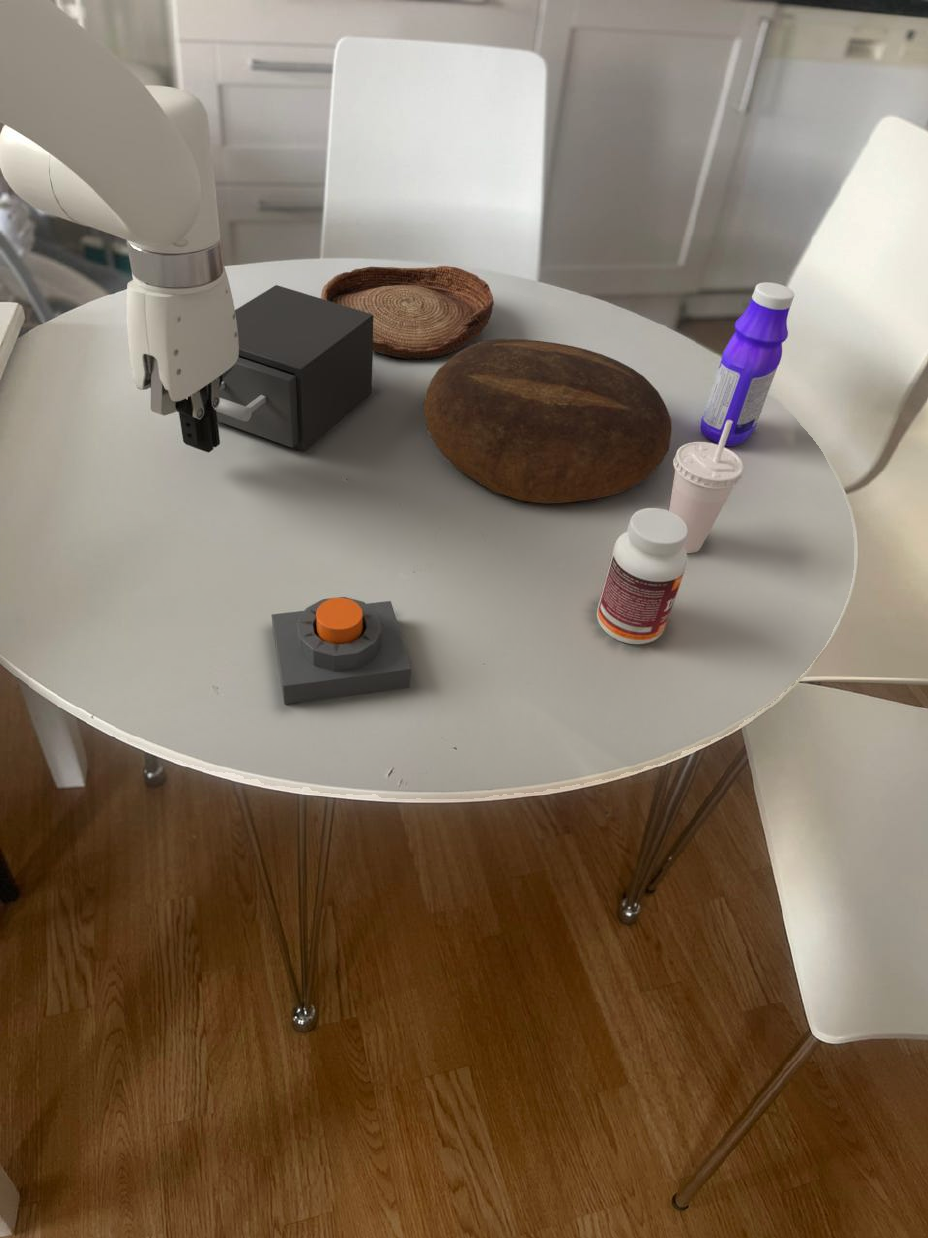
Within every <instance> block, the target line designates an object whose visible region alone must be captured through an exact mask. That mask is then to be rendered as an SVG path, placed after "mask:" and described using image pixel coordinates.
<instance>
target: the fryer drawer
mask: <svg viewBox="0 0 928 1238" xmlns="http://www.w3.org/2000/svg"><path fill="white" fill-rule="evenodd" d="M214 410H216V413H217V421H218V423H221V424H225V425H228V426H230V427H233V428H236V429H239V430H242V431H244V432H247V433H250V434H253V435H256V436H258V437H262V438H263V439H267V440H269V441H273V442H275V443H278V444H281V445H283V446H287V447H289V448H292V449H294V448H293V447H294V446H296V445H297V444H298V443H299V435H298V413H297V391H296V376H295V374H293V373H290V372H287V371H284V370H281V369H278V368H275V367H272V366H269V365H266V364H263V363H260V362H257V361H254V360H251V359H248V358H245V357H242V356H238V360H237V362H236V363H235V364H234V365H233V368H232V370H231V371H230V372H229V373H228V374H227V375H226V376H225V378H224V379H223V381H222V384H221V386H220V403H219V405H218V407H217V408H214Z"/></svg>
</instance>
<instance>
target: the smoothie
mask: <svg viewBox="0 0 928 1238" xmlns="http://www.w3.org/2000/svg"><path fill="white" fill-rule="evenodd" d="M732 423H733V422H732V421H731V420H727V421H726V424H725V427H724V430H723V433H722V436H721V439H720V442H719V444H718V443H714V442H707V441H693V442H688V443H685V444H683V445H681V446H680V447H679V448H678V449H677V450H676V453H675V456H674V457H673V461H672V465H673V467H674V475H673V482H672V488H671V496H670V501H669V508H668V511H670V512H672V513H674V514H676V515H677V516H679V517H680V518H681V519H682V520H683V521H684V522H685V524H686V525H687V528H688V533H687V537H686V541H685V545H684V546H683V547H684V548H685V550H686V553H687V554H695V553H697V552H698V551H700V550H701V548H702V547H703V544H704V543H705V540H706V539H707V538H708V535H709V533H710V531H711V529H712V527H713V525H714V524H715V522H716V520H717V518H718V517H719V514H720V513H721V511H722V510H723V507H724V505H725V503H726V502H727V500H728V498H729V496H730V494H731V492H732V490H733V488H734V487H735V486H736V485H738V484H739V483H740V481H741V480H742V478H743V473H744V470H745V466H744V461H742V459H741V458H740V456H738V455H737V453H735V452H734V451H732V450H731V449H729V448H727V447H726V446H725V443H726V440H727V437H728V435H729V432H730V429H731V426H732Z"/></svg>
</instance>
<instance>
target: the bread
mask: <svg viewBox="0 0 928 1238" xmlns="http://www.w3.org/2000/svg"><path fill="white" fill-rule="evenodd" d="M423 410H424V417H425V423H426V429H427V432H428V434H429V436H430V437H431V439H432V441H433V442H434V444H435V446H436V447H437V449H438V450H439V452H440V453H441V454H442V455H443V456H444V457H445V458H446V459H447V460H448V461H449V462H450V463H451V464H452V465H453V466H454V467H455V468H456V469H457V470H458V471H460V472H461V473H462V474H464V475H466V476H467V477H469V478H470V479H472V480H473V481H474V482H476V483H478V484H480V485H481V486H483V487H485V488H487V489H489V490H491V491H493V492H494V493H497V494H500V495H503V496H505V497H508V498H512V499H516V500H519V501H523V502H531V503H539V504H559V503H560V504H561V503H562V504H563V503H572V502H580V501H587V500H593V499H599V498H605V497H610V496H613V495H616V494H619V493H621V492H624V491H627V490H630V489H632V488H633V487H635V486H636V485H638V484H639V483H641V482H643V481H644V480H646V478H647V477H649V476H650V475H651V474H652V473H653V472H654V471H656V469H657V468H659V466H660V465H661V464H662V462H663V461H664V460H665V458H666V456H667V454H668V452H669V451H670V444H671V438H672V431H673V429H672V418H671V415H670V413H669V410H668V407H667V406H666V403H665V401H664V399H663V398H662V396H661V394H660V393H659V391H658V389H656V387H654V386H653V384H652V383H651V382H650V381H649V379H647V378H646V377H645V376H644V375H643V374H641V373H640V372H638V371H636V370H635V369H634V368H632V367H630V366H628V365H626V364H624V363H623V362H620V361H618V360H617V359H614V358H612V357H609V356H607V355H604V354H603V353H602V354H601V353H599V352H596V351H593V350H590V349H585V348H583V347H578V346H573V345H568V344H563V343H557V342H551V341H543V340H535V339H534V340H533V339H523V338H522V339H521V338H496V339H490V340H489V339H488V340H482V341H478V342H476V343H474V344H471V345H469V346H467V347H465V348H464V349H461V350H459V351H458V352H457V353H455V354H454V355H453V356H452V357H451V358H450V359H448V360H447V361H446V362H445V363H444V364H442V366H440V367H439V368H438V370H437V371H436V373H435V374H434V375H433V377H432V379H431V380H430V382H429V384H428V387H427V390H426V393H425V397H424V402H423Z"/></svg>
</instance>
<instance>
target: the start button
mask: <svg viewBox="0 0 928 1238" xmlns="http://www.w3.org/2000/svg"><path fill="white" fill-rule="evenodd" d="M332 598H333V599H329V598H328V599H329V600H327V601H325V602H323V603H322V604H321V605H320V606H319V607H318V609H317V612H316V621H317V633H318V635H319V636H320V638H321V639H323V640H324V641H326V642H328V643H332V644H336V645H338V644H346V643H351V642H353V641H355V640H357V639H358V638H359V637H360V635H361V633H362V629H363V612H362V609H361V607H360V606H359V605H358V604H357V603H356V602H354V601H353V600H350V599H347V598H348V597H347V598H338V597H332Z"/></svg>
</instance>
